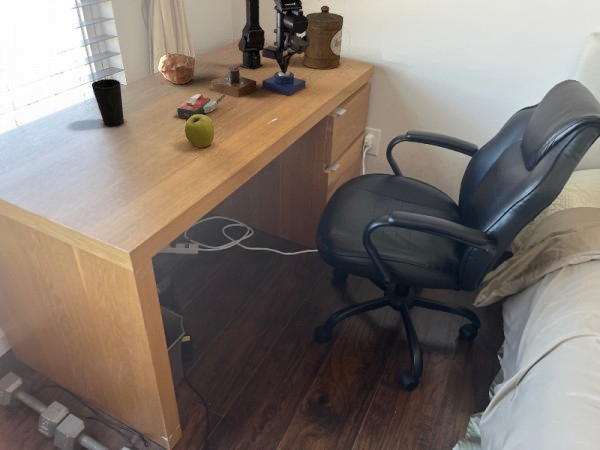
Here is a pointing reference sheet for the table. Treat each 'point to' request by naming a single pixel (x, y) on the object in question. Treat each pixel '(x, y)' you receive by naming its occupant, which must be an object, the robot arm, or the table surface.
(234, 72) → the dial
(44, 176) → the table surface
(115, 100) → the cup
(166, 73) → the decorative rock
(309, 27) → the wooden container
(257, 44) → the robot arm
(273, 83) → the button housing
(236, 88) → the dial panel
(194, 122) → the apple
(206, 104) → the walkie-talkie
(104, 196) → the table surface
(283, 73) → the cap
